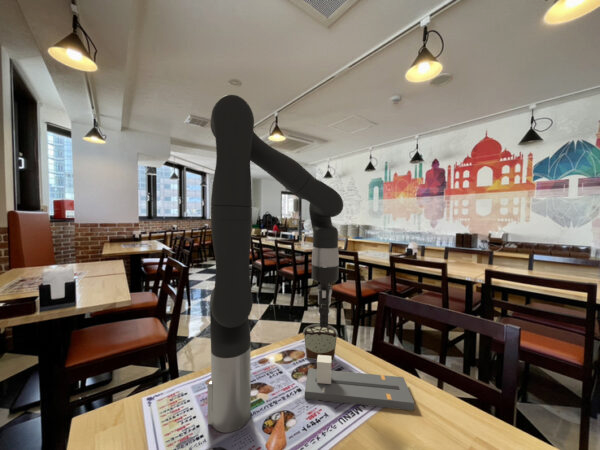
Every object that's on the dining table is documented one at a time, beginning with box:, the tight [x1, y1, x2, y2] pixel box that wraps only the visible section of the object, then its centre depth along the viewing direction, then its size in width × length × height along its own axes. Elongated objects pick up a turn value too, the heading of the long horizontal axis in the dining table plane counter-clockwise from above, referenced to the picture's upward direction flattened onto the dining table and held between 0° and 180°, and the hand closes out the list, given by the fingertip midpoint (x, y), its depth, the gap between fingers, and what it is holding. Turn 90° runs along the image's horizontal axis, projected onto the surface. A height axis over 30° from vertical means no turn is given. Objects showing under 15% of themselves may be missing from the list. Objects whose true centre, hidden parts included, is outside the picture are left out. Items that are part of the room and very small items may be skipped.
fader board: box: [304, 367, 415, 412], centre depth 68 cm, size 28×10×2 cm, turn 82°
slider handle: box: [316, 355, 332, 384], centre depth 69 cm, size 4×4×6 cm
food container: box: [302, 323, 339, 362], centre depth 86 cm, size 12×6×10 cm, turn 84°
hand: (324, 319), depth 69 cm, fingers open, 8 cm apart
